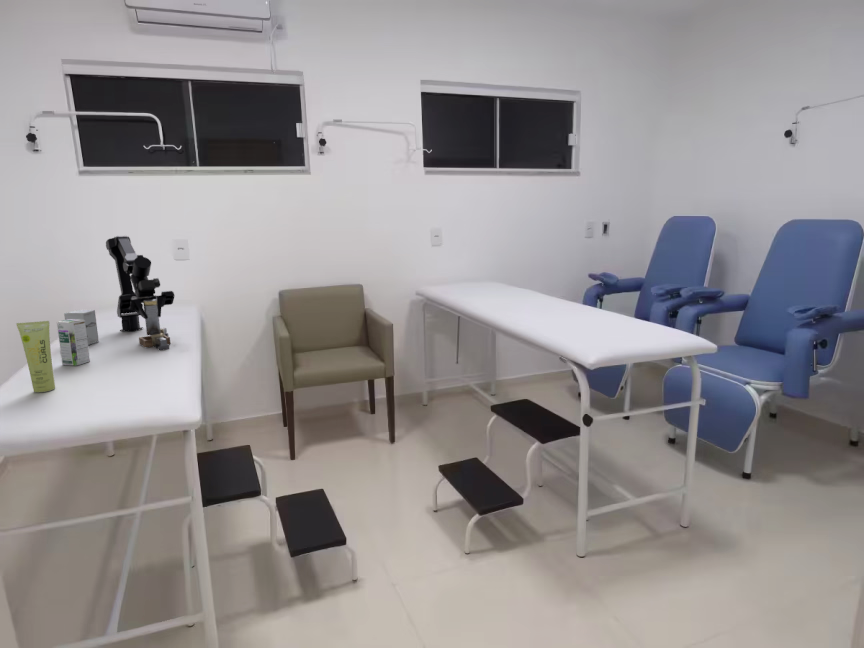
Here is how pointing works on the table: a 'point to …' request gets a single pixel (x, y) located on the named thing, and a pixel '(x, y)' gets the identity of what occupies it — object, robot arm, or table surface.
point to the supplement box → (86, 323)
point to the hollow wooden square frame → (150, 340)
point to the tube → (38, 354)
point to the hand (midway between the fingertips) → (152, 317)
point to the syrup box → (73, 342)
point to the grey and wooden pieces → (160, 340)
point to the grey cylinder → (152, 316)
